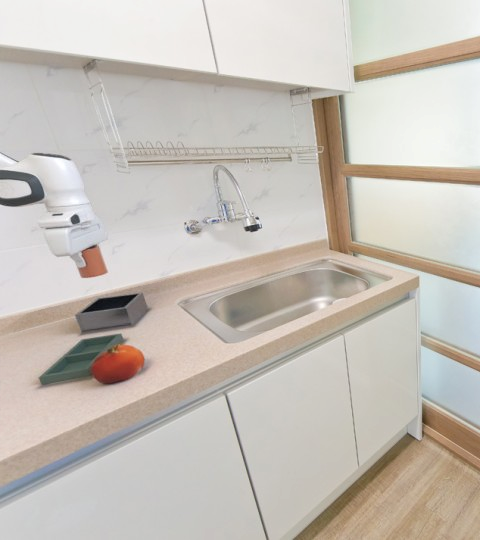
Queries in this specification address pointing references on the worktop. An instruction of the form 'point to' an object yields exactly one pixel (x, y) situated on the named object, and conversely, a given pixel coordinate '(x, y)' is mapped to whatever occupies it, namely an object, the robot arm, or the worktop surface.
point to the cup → (92, 263)
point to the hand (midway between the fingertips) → (90, 262)
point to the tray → (79, 359)
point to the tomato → (117, 364)
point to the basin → (112, 313)
